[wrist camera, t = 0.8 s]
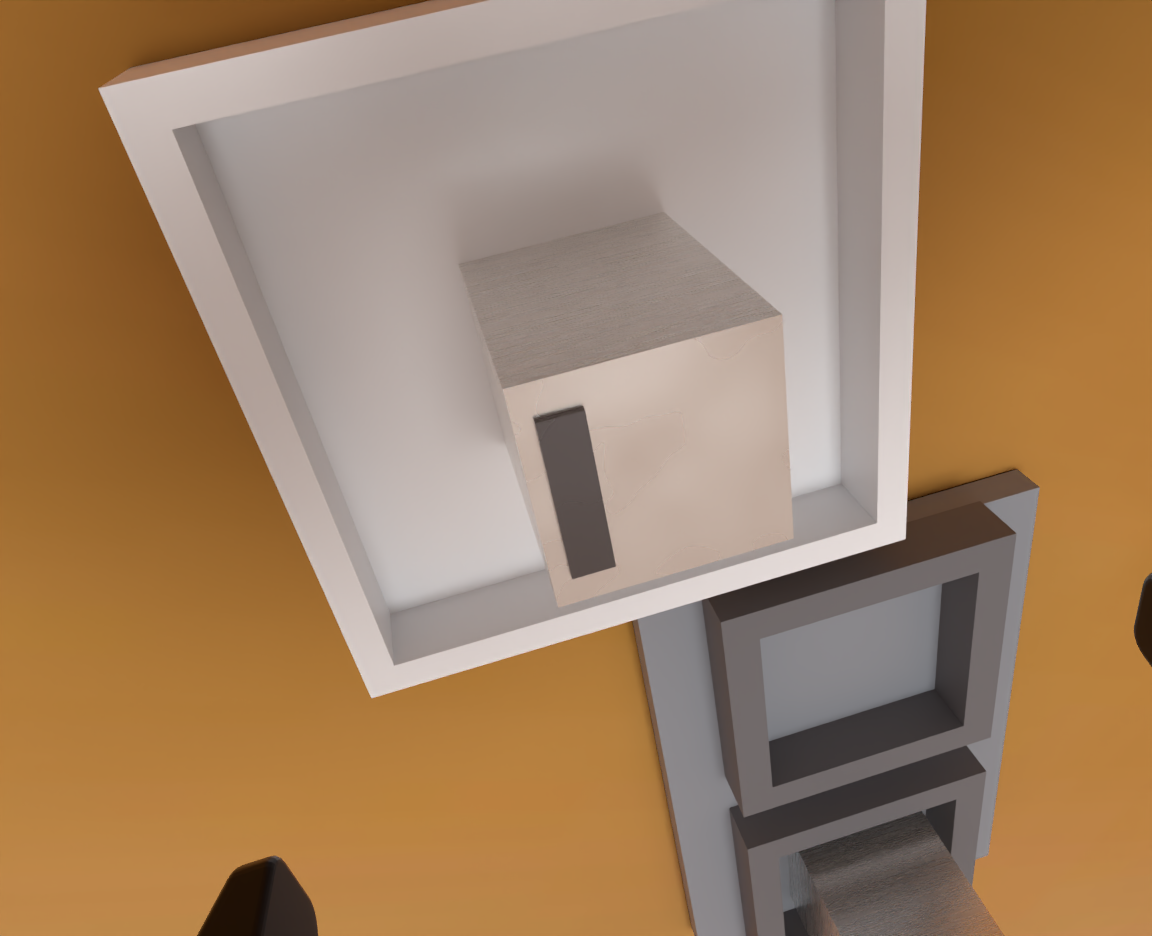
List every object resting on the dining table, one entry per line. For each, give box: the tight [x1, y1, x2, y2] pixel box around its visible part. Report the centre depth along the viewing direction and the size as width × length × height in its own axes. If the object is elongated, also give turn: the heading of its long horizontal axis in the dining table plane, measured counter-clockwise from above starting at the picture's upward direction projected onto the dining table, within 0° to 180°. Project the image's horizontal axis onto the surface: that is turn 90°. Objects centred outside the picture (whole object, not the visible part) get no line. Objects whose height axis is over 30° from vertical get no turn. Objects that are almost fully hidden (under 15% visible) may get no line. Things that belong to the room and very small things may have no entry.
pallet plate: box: [633, 469, 1040, 936], centre depth 29 cm, size 12×18×3 cm, turn 11°
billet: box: [787, 811, 1004, 936], centre depth 29 cm, size 4×4×6 cm
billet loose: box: [458, 212, 794, 608], centre depth 17 cm, size 4×4×6 cm
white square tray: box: [98, 0, 926, 698], centre depth 19 cm, size 14×14×2 cm
